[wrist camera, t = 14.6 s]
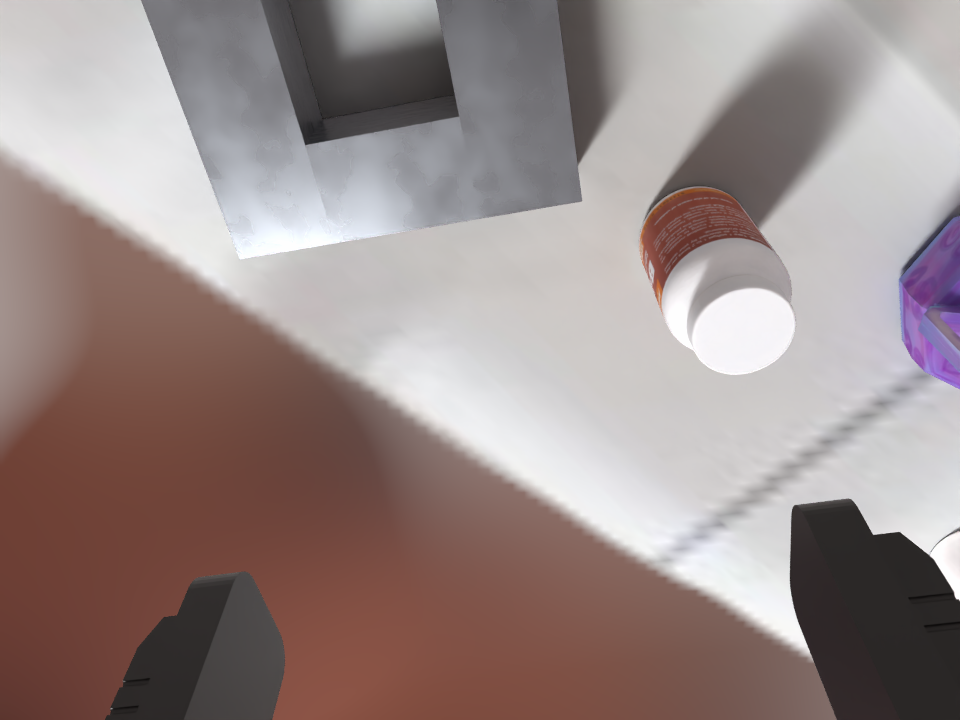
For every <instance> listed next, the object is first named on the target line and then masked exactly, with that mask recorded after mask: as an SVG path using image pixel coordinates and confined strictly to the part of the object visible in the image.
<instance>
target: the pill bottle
mask: <svg viewBox="0 0 960 720" xmlns="http://www.w3.org/2000/svg"><path fill="white" fill-rule="evenodd" d="M639 251H640V256H641V260H642V263H643V265H644V268H645V270H646V273H647V275H648V278H649V280H650V283H651V286H652V288H653V291H654V293H655V296H656V298H657V301H658V304H659V306H660V309H661V312H662V314H663V317H664V319H665V322H666V324H667V326H668V327H669V329H670V331H671V332H672V334H673V335H674V336H675V337H676V338H677V339H678V340H679V341H680V342H681V343H682V344H684V345H685V346H687V347H688V348H690V349H692V350H694V352H695V353H696V355H697V357H698V358H699V359H700V361H701V362H702V363H704V364H705V365H706V366H707V367H709V368H711V369H713V370H715V371H717V372H721V373H725V374H733V375H737V374H746V373H751V372H754V371H757V370H760V369H762V368H764V367H766V366H768V365H770V364H771V363H773V362H774V361H776V360H777V359H778V358H779V357H780V356H781V355H782V354H783V353H784V352H785V351H786V349H787V348H788V346H789V345H790V343H791V341H792V339H793V336H794V333H795V329H796V318H795V313H794V310H793V308H792V305H791V304H790V302H791V296H792V287H791V280H790V277H789V274H788V271H787V269H786V268H785V266H784V264H783V263H782V261H781V259H780V258H779V256H778V255H777V254H776V252H775V251H774V250H773V248H772V247H771V245H770V244H769V243H768V241H767V240H766V239H765V237H764V236H763V235H762V233H761V232H760V230H759V229H758V228H757V226H756V225H755V223H754V222H753V221H752V219H751V218H750V217H749V215H748V214H747V213H746V211H745V210H744V209H743V207H742V206H741V205H740V204H739V202H738V201H737V200H735V199H734V198H733V197H732V196H731V195H729V194H727V193H726V192H723V191H721V190H718V189H715V188H711V187H705V186H695V187H688V188H684V189H680V190H678V191H675V192H673V193H671V194H669V195H667V196H666V197H664V198H663V199H662V200H660V201H659V202H658V203H657V204H656V205H655V206H654V207H653V208H652V209H651V211H650V212H649V214H648V215H647V217H646V219H645V220H644V223H643V225H642V228H641V231H640V236H639Z"/></svg>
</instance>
